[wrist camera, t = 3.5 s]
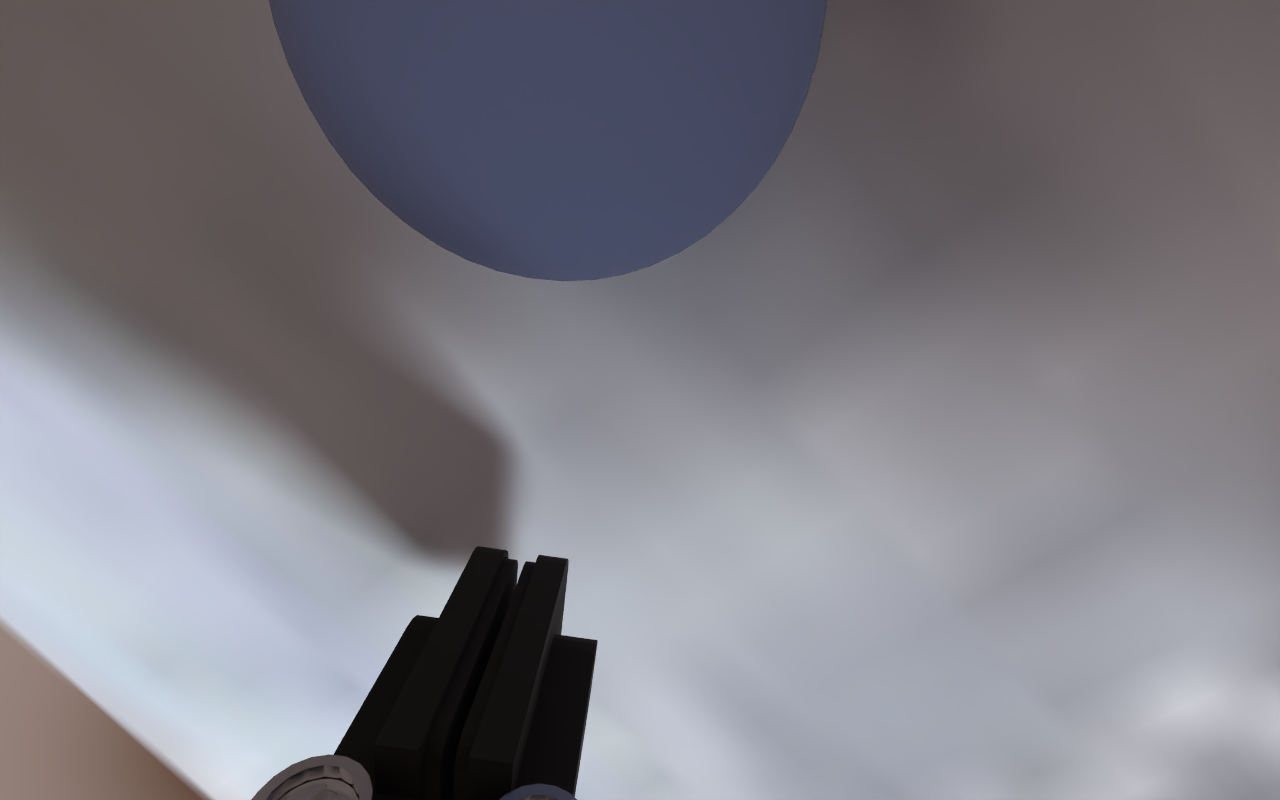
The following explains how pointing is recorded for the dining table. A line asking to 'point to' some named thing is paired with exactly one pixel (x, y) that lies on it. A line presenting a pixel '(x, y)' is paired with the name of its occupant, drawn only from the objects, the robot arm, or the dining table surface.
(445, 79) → the dark blue ball
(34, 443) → the dining table surface
